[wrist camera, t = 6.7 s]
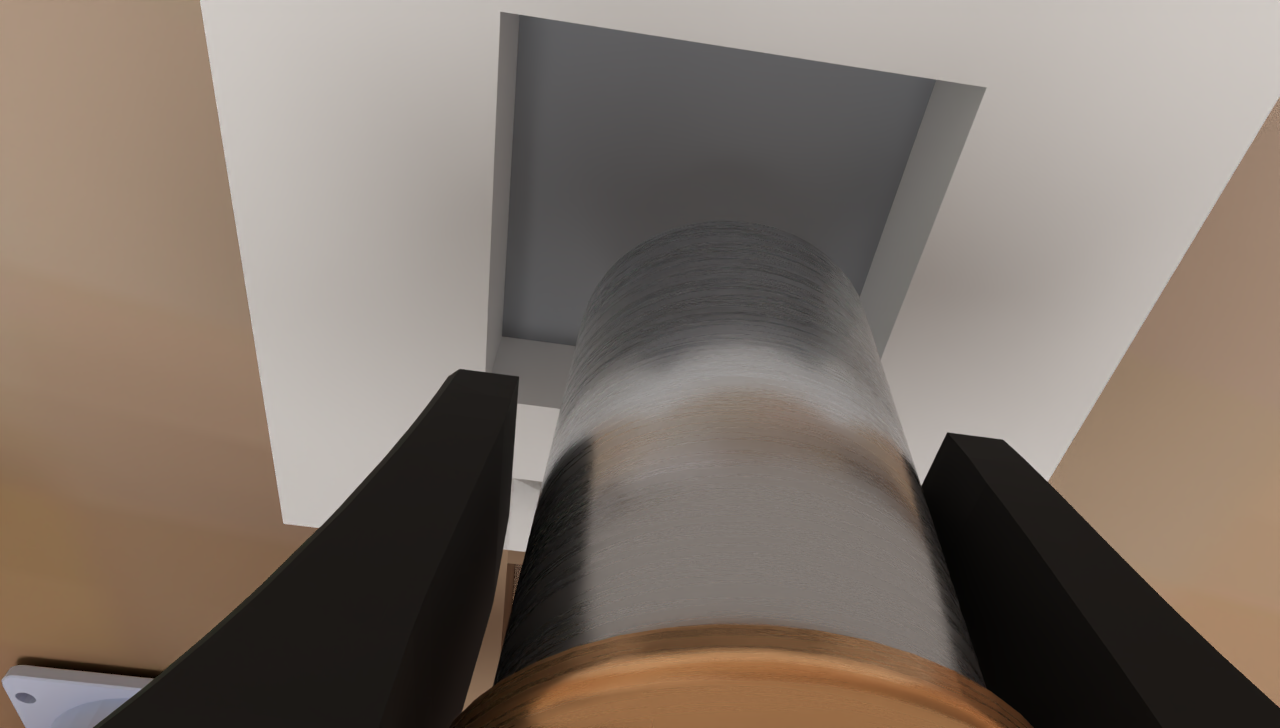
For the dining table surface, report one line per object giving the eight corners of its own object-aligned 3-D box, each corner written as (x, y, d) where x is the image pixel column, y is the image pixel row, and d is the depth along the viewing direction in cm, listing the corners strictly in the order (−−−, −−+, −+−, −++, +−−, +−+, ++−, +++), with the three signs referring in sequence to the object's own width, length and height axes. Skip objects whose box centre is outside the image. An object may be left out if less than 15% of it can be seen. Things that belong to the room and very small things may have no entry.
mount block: (776, 715, 24) (784, 787, 22) (417, 677, 23) (398, 748, 21) (890, 455, 18) (912, 526, 16) (409, 394, 17) (382, 462, 15)
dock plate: (947, 531, 19) (973, 604, 17) (317, 454, 18) (283, 523, 17) (1344, -217, 11) (1462, -208, 9) (215, -425, 10) (126, -456, 8)
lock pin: (839, 501, 13) (954, 1090, 7) (543, 456, 13) (403, 1014, 7) (940, 230, 11) (1255, 785, 4) (575, 170, 10) (397, 658, 4)
